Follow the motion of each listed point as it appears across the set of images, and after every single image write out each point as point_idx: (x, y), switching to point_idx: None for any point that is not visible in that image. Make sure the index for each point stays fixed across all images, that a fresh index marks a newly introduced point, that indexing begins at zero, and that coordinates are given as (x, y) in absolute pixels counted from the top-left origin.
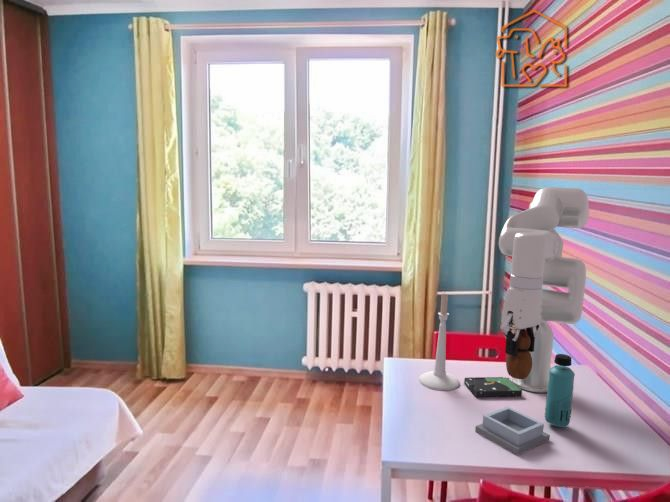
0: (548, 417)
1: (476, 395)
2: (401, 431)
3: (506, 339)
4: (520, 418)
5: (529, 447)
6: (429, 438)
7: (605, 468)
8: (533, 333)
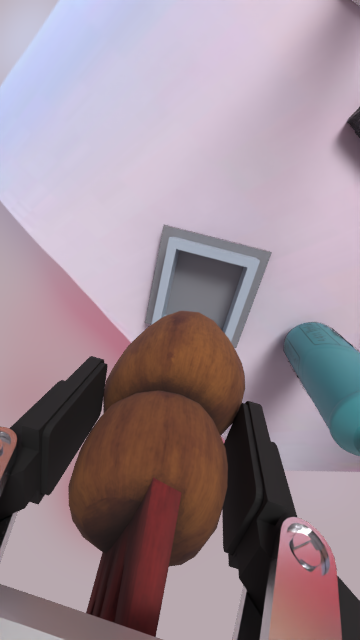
0: (290, 337)
1: (352, 119)
2: (40, 95)
3: (31, 415)
4: (235, 298)
5: None
6: (70, 167)
7: None
8: (239, 605)
